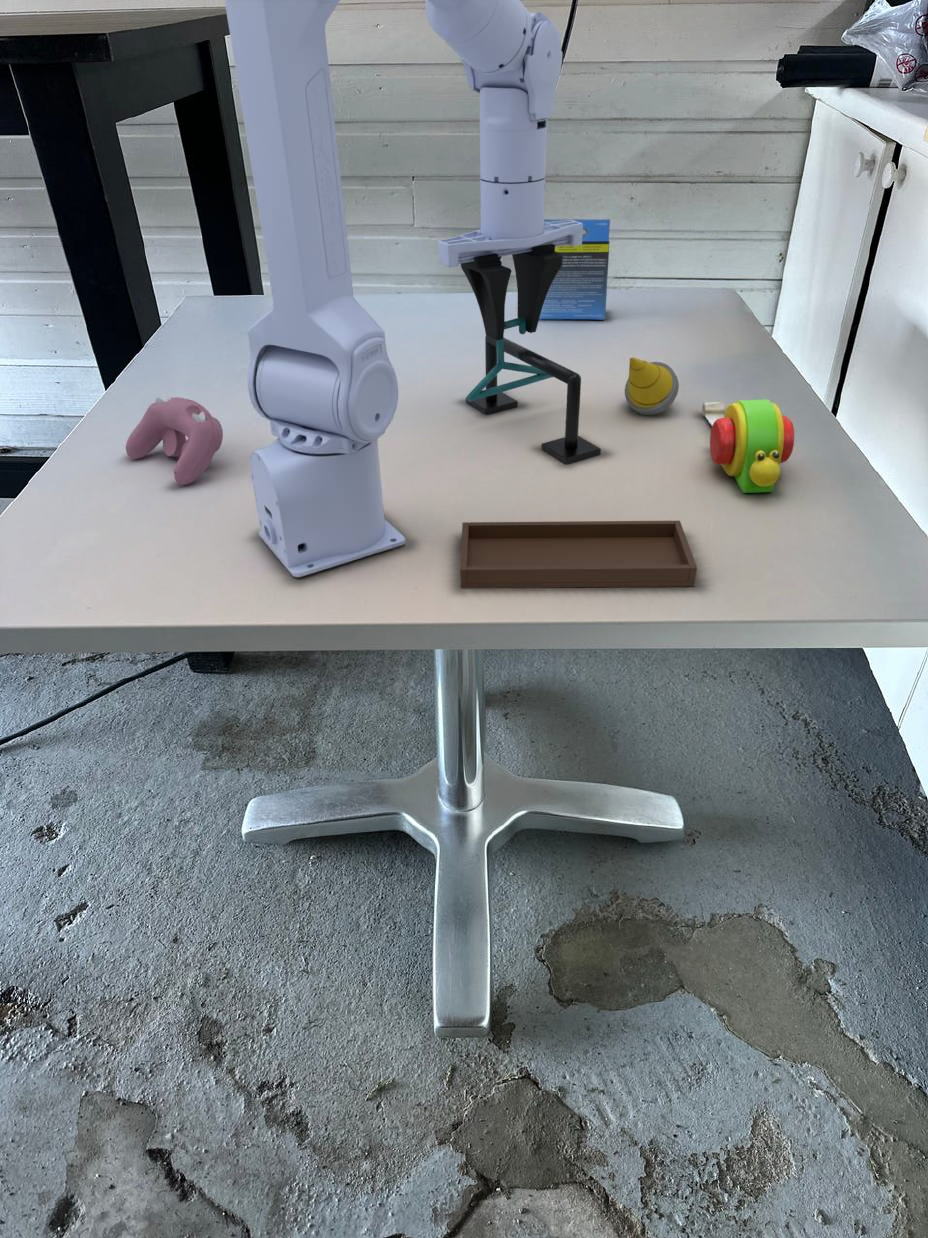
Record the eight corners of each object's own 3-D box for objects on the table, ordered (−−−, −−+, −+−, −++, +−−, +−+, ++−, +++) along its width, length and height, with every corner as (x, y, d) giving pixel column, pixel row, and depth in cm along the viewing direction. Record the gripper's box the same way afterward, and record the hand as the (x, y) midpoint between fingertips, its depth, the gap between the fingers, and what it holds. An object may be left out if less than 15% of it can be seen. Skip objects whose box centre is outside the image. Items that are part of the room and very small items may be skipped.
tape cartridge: (604, 311, 119) (611, 212, 112) (605, 321, 116) (612, 219, 109) (538, 311, 120) (540, 212, 113) (536, 320, 117) (539, 219, 110)
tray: (460, 588, 65) (460, 569, 64) (462, 539, 71) (462, 521, 70) (694, 586, 65) (697, 567, 64) (677, 537, 70) (680, 520, 69)
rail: (565, 464, 82) (569, 384, 77) (465, 402, 94) (463, 330, 90) (600, 454, 83) (606, 375, 79) (497, 394, 96) (497, 323, 92)
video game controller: (220, 491, 82) (237, 416, 80) (177, 486, 78) (193, 408, 77) (162, 461, 88) (177, 390, 86) (119, 455, 84) (134, 381, 82)
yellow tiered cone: (690, 416, 91) (662, 371, 83) (640, 433, 93) (608, 391, 85) (681, 371, 93) (652, 322, 84) (632, 388, 95) (599, 343, 87)
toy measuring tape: (725, 505, 75) (737, 432, 71) (680, 414, 90) (688, 350, 87) (801, 504, 74) (818, 430, 71) (743, 413, 90) (754, 349, 86)
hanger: (469, 403, 87) (464, 333, 83) (465, 400, 87) (460, 331, 83) (558, 376, 91) (558, 308, 87) (554, 374, 91) (554, 307, 87)
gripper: (553, 163, 84) (549, 310, 92) (418, 180, 78) (425, 335, 86) (600, 173, 79) (590, 327, 87) (458, 192, 73) (462, 356, 81)
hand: (511, 333), depth 86 cm, fingers closed on hanger, 3 cm apart
